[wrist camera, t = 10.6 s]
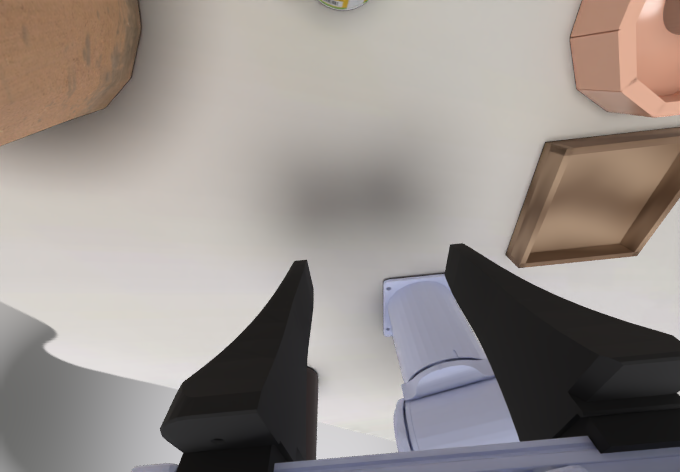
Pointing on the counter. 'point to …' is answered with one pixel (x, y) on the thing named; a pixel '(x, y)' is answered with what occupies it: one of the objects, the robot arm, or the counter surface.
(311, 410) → the vinegar
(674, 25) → the stone
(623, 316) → the counter surface
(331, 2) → the supplement bottle
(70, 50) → the pottery
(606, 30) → the bowl
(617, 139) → the tray
